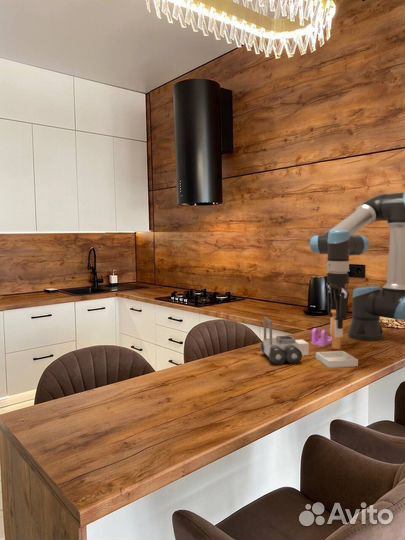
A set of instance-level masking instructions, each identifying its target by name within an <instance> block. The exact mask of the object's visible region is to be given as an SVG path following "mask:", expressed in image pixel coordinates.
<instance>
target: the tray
mask: <svg viewBox="0 0 405 540" xmlns="http://www.w3.org/2000/svg"><path fill="white" fill-rule="evenodd" d="M315 360H317V361H318V362H319V363H320V364H322V365H324V367H326V368H327V369H337V368H338V369H339V368H352V367H353V368H354V367H355V366H357V367H358V366H359V359H358V358H356V357H354V356H353V355H351V354H350V353H348V352H346V351H344V350H337V351H336V350H335V351H317V352H315ZM355 368H356V367H355Z"/></svg>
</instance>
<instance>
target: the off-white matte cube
mask: <svg viewBox="0 0 405 540" xmlns="http://www.w3.org/2000/svg"><path fill="white" fill-rule="evenodd" d="M295 341H296V342H297V343H298V344H299V350H300V351H301V353H302V357H305V356H304V355H307V356H309V347H310V346H309V342H308V341H305V340H304V339H302V338H301V339H295Z"/></svg>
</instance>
